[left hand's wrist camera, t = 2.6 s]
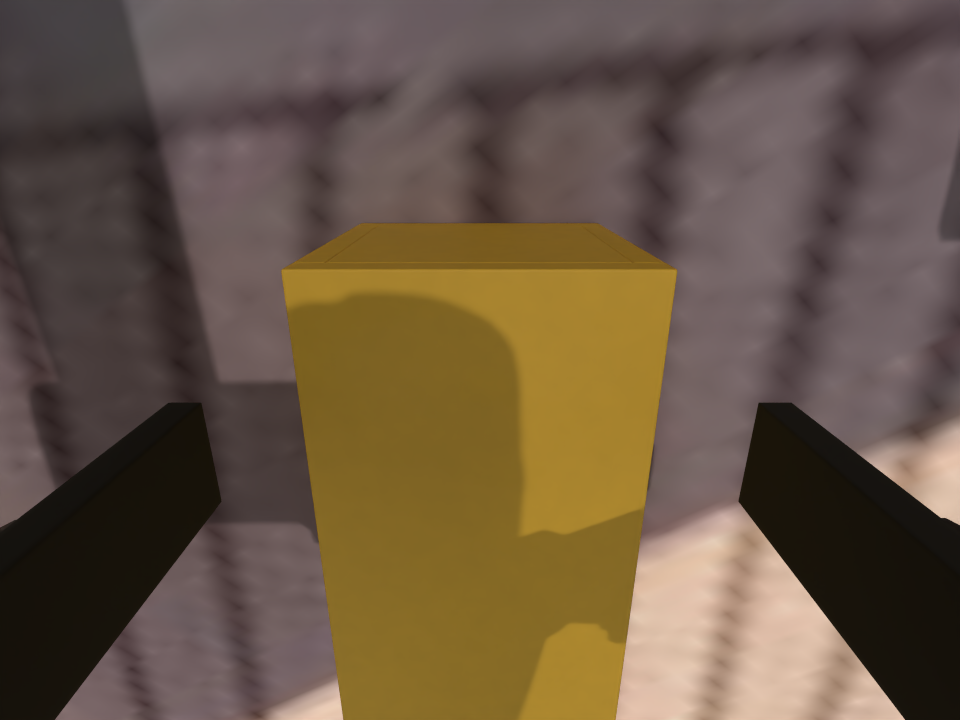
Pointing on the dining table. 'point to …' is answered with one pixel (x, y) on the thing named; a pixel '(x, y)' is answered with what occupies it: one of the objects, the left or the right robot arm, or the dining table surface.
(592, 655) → the cabinet
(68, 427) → the dining table surface
